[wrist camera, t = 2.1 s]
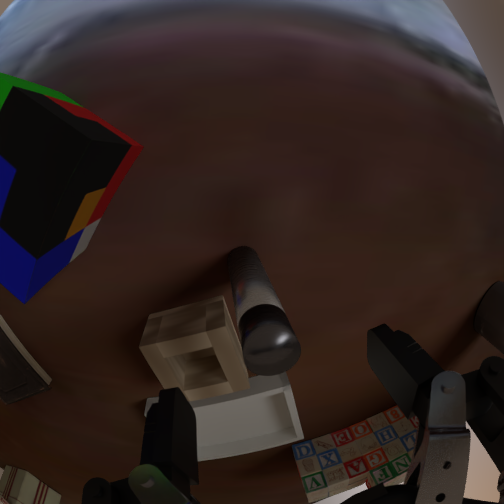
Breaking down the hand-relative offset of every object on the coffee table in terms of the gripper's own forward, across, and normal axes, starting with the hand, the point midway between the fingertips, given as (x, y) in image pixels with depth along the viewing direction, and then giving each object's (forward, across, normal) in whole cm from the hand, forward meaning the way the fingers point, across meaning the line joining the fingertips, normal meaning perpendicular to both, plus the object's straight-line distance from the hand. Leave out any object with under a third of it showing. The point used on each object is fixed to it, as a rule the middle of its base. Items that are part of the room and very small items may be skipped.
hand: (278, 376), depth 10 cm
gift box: (+14, +80, +48) cm, 94 cm away
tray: (+14, +7, +19) cm, 25 cm away
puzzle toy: (+14, +12, -12) cm, 22 cm away
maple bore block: (+14, +6, +6) cm, 16 cm away
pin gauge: (+14, 0, 0) cm, 14 cm away
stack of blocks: (+14, -10, +34) cm, 38 cm away
